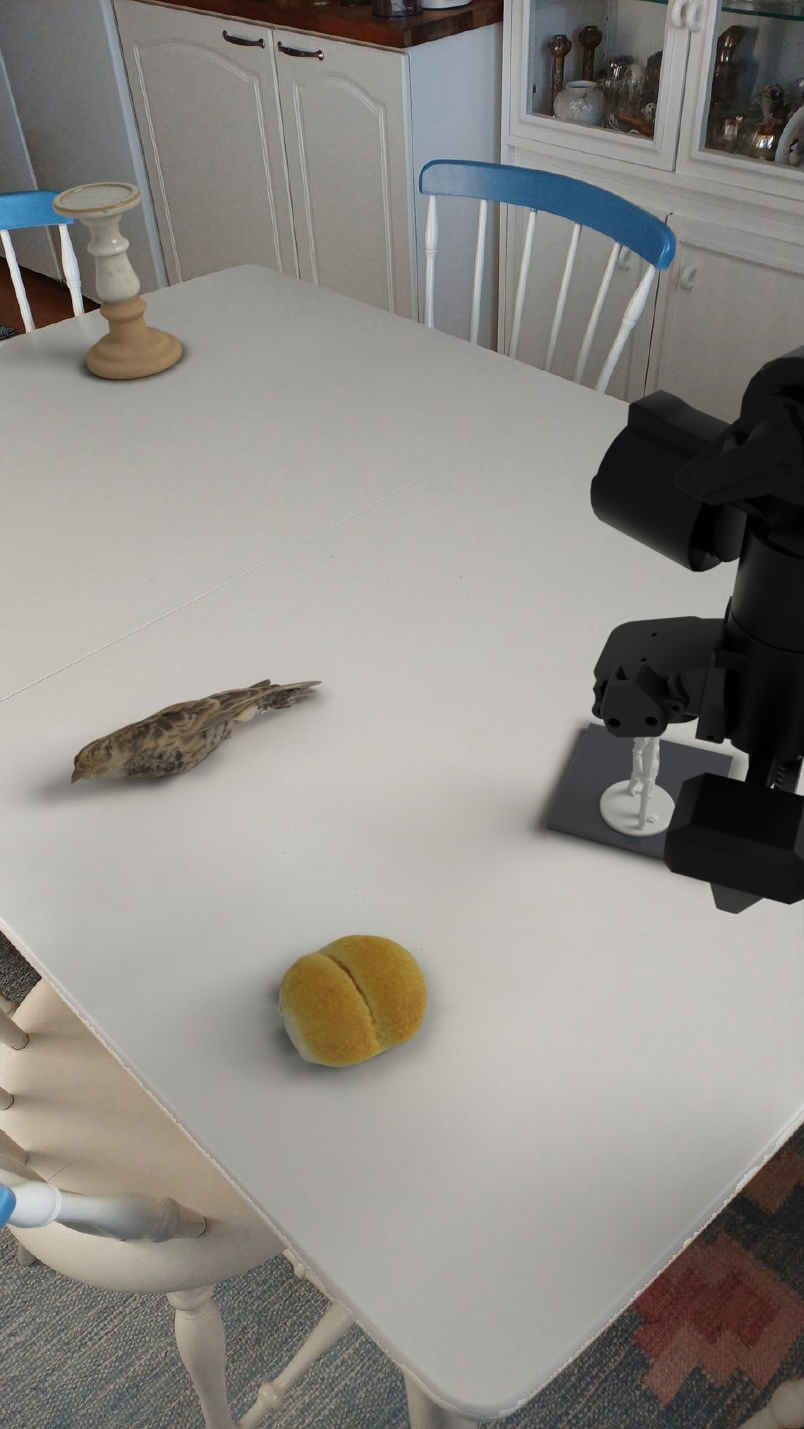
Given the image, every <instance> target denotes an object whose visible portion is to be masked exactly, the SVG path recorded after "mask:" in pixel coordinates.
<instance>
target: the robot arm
mask: <svg viewBox="0 0 804 1429" xmlns="http://www.w3.org/2000/svg"><path fill="white" fill-rule="evenodd" d="M741 397H742V398H741V405H740V410H739V417H738V418H737V419H736V420H734V421H733V422H732V423H729V422H727V421H724V420H722V419H721V418H717V417H716V416H713V415H710V414H709V413H707V412H704V411H701V410H699V409H697V408H695V407H693V406H691V405H690V404H688V403H687V402H686V401H685V400H683V398H680V397H679V396H677V395H675V394H672V393H670V392H668V391H666V390H663V389H659V390H656V391H654V392H652V393H650V394H647V395H645V396H643V397H641V398H639V399H637V400H635V401H633V402H631V403H629V405H628V410H627V422H626V426H624V427H623V429H621V431H620V432H619V433H618V434H617V435H616V437H614V439H613V440H612V442H611V444H610V445H609V446H608V448H607V449H606V451H605V452H604V455H603V457H602V460H601V461H600V464H599V466H598V470H597V472H596V474H595V475H594V476H593V477H592V478H591V481H590V489H589V490H590V491H589V494H590V495H589V497H590V505H591V509H592V511H593V514H594V515H595V517H596V518H597V519H598V521H599V522H600V521H601V522H602V523H604V524H606V525H608V526H609V527H612V528H613V529H614V530H617V531H619V532H620V533H622V534H623V535H625V536H628V537H629V538H631V539H633V540H634V541H636V542H638V543H640V544H642V545H644V546H646V547H648V548H649V549H651V550H653V551H655V552H657V553H658V554H660V555H662V556H664V557H666V558H667V559H669V560H670V561H672V562H674V563H676V564H678V565H679V566H681V567H683V568H685V569H687V570H689V571H691V572H693V573H703V572H706V571H709V570H712V569H714V568H716V567H718V566H719V565H720V564H722V563H732V562H734V561H736V560H738V563H737V570H736V574H735V579H734V586H733V592H732V595H730V596H729V599H728V602H727V605H726V608H725V611H724V616H723V617H722V618H721V617H706V618H702V617H699V616H696V615H685V616H673V617H663V618H651V619H640V620H639V619H638V620H631V621H627V622H623V623H621V624H619V625H617V626H616V627H614V628H613V629H612V630H611V632H610V634H609V635H608V637H607V640H606V642H605V644H604V646H603V648H602V651H601V653H600V655H599V657H598V660H597V661H596V664H595V666H594V668H593V676H594V678H595V682H594V685H593V687H592V691H593V694H594V702H593V705H592V707H591V713H592V715H593V717H595V718H597V719H599V720H602V721H603V725H604V726H605V727H606V730H607V731H608V732H609V733H611V734H612V735H614V736H616V737H618V738H637V737H659V738H660V737H661V736H662V735H663V734H664V733H665V732H666V730H667V728H668V725H677V724H686V723H691V722H693V721H695V720H697V724H696V729H695V736H694V739H695V740H700V741H704V742H708V743H712V744H716V745H722V744H724V742H725V740H728V741H729V740H730V742H729V743H730V745H731V746H732V747H733V748H735V749H736V750H739V751H740V752H742V753H744V754H747V760H748V761H747V763H748V764H747V766H748V767H747V771H746V774H745V778H744V780H741V779H736V778H732V777H729V776H728V777H724V776H720V775H716V774H712V773H708V772H705V773H702V774H700V775H697V776H695V777H692V778H690V779H687V780H685V781H683V783H682V786H681V790H680V793H679V796H678V799H677V802H676V805H675V808H674V811H673V814H672V817H671V820H670V823H669V826H668V829H667V832H666V837H665V844H664V850H663V856H662V859H661V861H662V862H663V863H664V865H665V866H666V868H667V869H668V870H669V871H670V873H673V874H676V875H680V876H683V877H688V878H690V879H694V880H698V881H702V882H705V883H709V887H710V890H711V893H712V894H711V895H712V897H713V902H714V905H715V908H716V909H717V910H719V911H722V912H726V913H729V914H734V915H739V914H740V913H742V912H744V911H745V910H747V909H748V908H750V907H752V906H754V905H755V904H757V903H758V902H760V901H761V900H763V899H766V900H769V901H770V900H771V901H774V902H777V903H780V904H784V905H789V906H790V905H793V904H796V903H798V902H801V901H804V795H803V794H798V793H797V790H798V787H799V783H800V778H801V774H802V770H803V764H804V344H802V345H800V346H797V347H796V348H794V349H792V350H790V351H788V352H785V353H783V354H782V355H780V356H777V357H775V358H773V359H771V360H769V361H767V362H764V363H763V365H762V366H761V368H760V369H759V370H758V371H757V372H756V373H755V374H754V375H753V376H752V377H751V378H750V379H749V382H748V384H747V386H746V388H745V391H744V393H743V395H742V396H741Z"/></svg>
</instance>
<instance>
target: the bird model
mask: <svg viewBox="0 0 804 1429" xmlns="http://www.w3.org/2000/svg"><path fill="white" fill-rule="evenodd" d="M271 683H272V682H271V680H270V679H269V678H267V679H263V680H260V681H259V682H257V683H255V684H253V685H250V686H249V687H245V688H235V689H234V688H233V689H227V690H223V691H220V692H217V693H213V694H211V695H209V696H205V697H203V698H200V699H196V700H195V699H194V700H193V699H192V700H187V701H182V702H178V703H175V704H172V705H168V706H166V707H165V708H162V709H160V710H159V711H156V712H155V713H154V714H152V715H150V716H148V717H146V718H143V719H142V720H139V721H136V722H132V723H130V724H128V725H125V726H123V727H121V728H119V729H117V730H115V731H113V732H111V733H109V734H107V735H105V736H103V737H100V738H97V739H95V740H93V741H91V742H89V743H88V744H87V745H85V746H83V747H82V748H81V749H80V751H79V752H78V753H77V754H76V755H75V756H74V759H73V766H74V769H73V772H72V775H71V779H70V783H69V784H70V786H71V785H72V786H73V785H74V783H77V782H78V781H79V780H80V779H84V780H86V781H88V780H89V781H91V780H101V779H102V780H103V779H104V780H105V779H131V778H133V779H135V778H154V777H155V778H156V777H164V776H167V775H174V774H177V773H178V774H185V773H187V772H188V771H190V770H191V769H192V768H195V767H196V766H199V764H201V763H202V762H203V761H206V759H207V758H208V757H209V756H210V755H212V753H214V752H215V751H216V750H217V749H218V748H219V747H220V746H221V745H222V744H223V743H224V742H225V741H226V740H229V739H231V738H232V737H233V736H234V734H235V733H236V731H237V729H238V728H239V726H241V725H242V723H245V724H246V723H248V722H251V721H252V720H253V719H254V717H255V714H257V710H262V711H260V713H259V714H260V715H262V714H263V713H265V712H267V711H271V710H276V711H277V710H283V709H289V708H291V707H292V706H293V705H294V704H298V703H299V702H300V701H302V700H303V699H304V698H305V697H310V696H311V694H315V693H317V692H318V691H317V690H318V689H316V688H312V687H313V686H317V685H320V684H322V683H323V681H322V680H311V681H301V682H295V683H288V684H282V685H281V684H278V683H273V684H271ZM294 699H296V700H294ZM292 700H294V701H292Z"/></svg>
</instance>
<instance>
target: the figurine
mask: <svg viewBox="0 0 804 1429" xmlns="http://www.w3.org/2000/svg"><path fill="white" fill-rule="evenodd" d="M659 739H660V736H659V737H637V738H635V739H634V742H635V746H634V747H635V748H634V749H633V750H632V752H633V772H632V774H631V779H630V780H627V781H622V782H618V783H616V784H614V785H612V786H610V787H609V788H608V789H607V790H606V791H605V792H604V793H603V795H602V797H601V800H600V812H601V815H602V817H603V819H604V820H605V822H606V823H607V824H608V825H609V826H611V827H612V828H613V829H615V830H617V831H619V832H621V833H624V834H626V835H631V836H638V837H642V836H651V835H655V834H658V833H660V832H662V831H664V830H665V829H666V828H668V826H669V823H670V820H671V817H672V814H673V811H674V808H675V806H674V802H673V800H672V798H671V797H670V795H669V794H668V793H667V792H666V791H665V790H663V789H662V788H661V787H659V786H657V785H655V779H656V776H658V770H659Z"/></svg>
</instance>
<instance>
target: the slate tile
mask: <svg viewBox="0 0 804 1429" xmlns="http://www.w3.org/2000/svg"><path fill="white" fill-rule="evenodd" d="M634 739H635V738H618V737H616V736H614V735H612V734H611V733H609V732H608V731H607V730H606V727H605V725H602V724H598V723H594V722H589V724H588V725H587V728H586V730H585V733H584V735H583V737H582V739H581V742H580V744H579V746H578V749H577V751H576V753H575V756H574V758H573V760H572V762H571V764H570V767H569V769H568V771H567V774H566V776H565V778H564V781H563V782H562V785H561V787H560V790H559V792H558V794H557V797H556V798H555V801H554V803H553V806H552V807H551V810H550V811H549V812H550V813H549V815H548V817H547V819H546V822H545V828H548V829H551V830H554V831H558V832H562V833H566V834H569V835H572V836H577V837H581V838H584V839H588V840H591V841H595V842H598V843H602V844H606V845H610V846H613V847H617V848H621V849H625V850H629V851H632V852H636V853H639V854H642V855H646V856H651V857H653V858H657V859H661V860H662V856H663V850H664V844H665V837H666V832H667V829H668V828H666V829H665V830H664V831H662V832H660V833H658V834H655V835H651V836H642V837H638V836H631V835H626V834H624V833H621V832H619V831H617V830H615V829H613V828H612V827H611V826H609V825H608V824H607V823H606V822H605V820H604V819H603V817H602V815H601V812H600V800H601V797H602V795H603V793H604V792H605V791H606V790H607V789H608V788H609V787H610V786H612V785H614V784H616V783H618V782H622V781H627V780H630V779H631V774H632V772H633V752H632V750H633V749H634V748H635V747H634V746H635V742H634ZM733 763H734V756H733V755H730V754H725V753H721V752H717V751H712V750H708V749H704V748H700V747H696V746H691V745H687V744H683V743H678V742H675V741H670V740H666V739H662V738H659V770H658V776H656V779H655V785H657V786H659V787H661V788H662V789H663V790H665V791H666V792H667V793H668V794H669V795H670V797H671V798H672V800H673V802H674V806H675V805H676V802H677V799H678V796H679V793H680V790H681V786H682V783H683V781H685V780H687V779H690V778H692V777H695V776H697V775H700V774H702V773H705V772H708V773H712V774H716V775H720V776H724V777H728V778H729V776H730V774H731V773H730V772H731V769H732V766H733Z"/></svg>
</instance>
